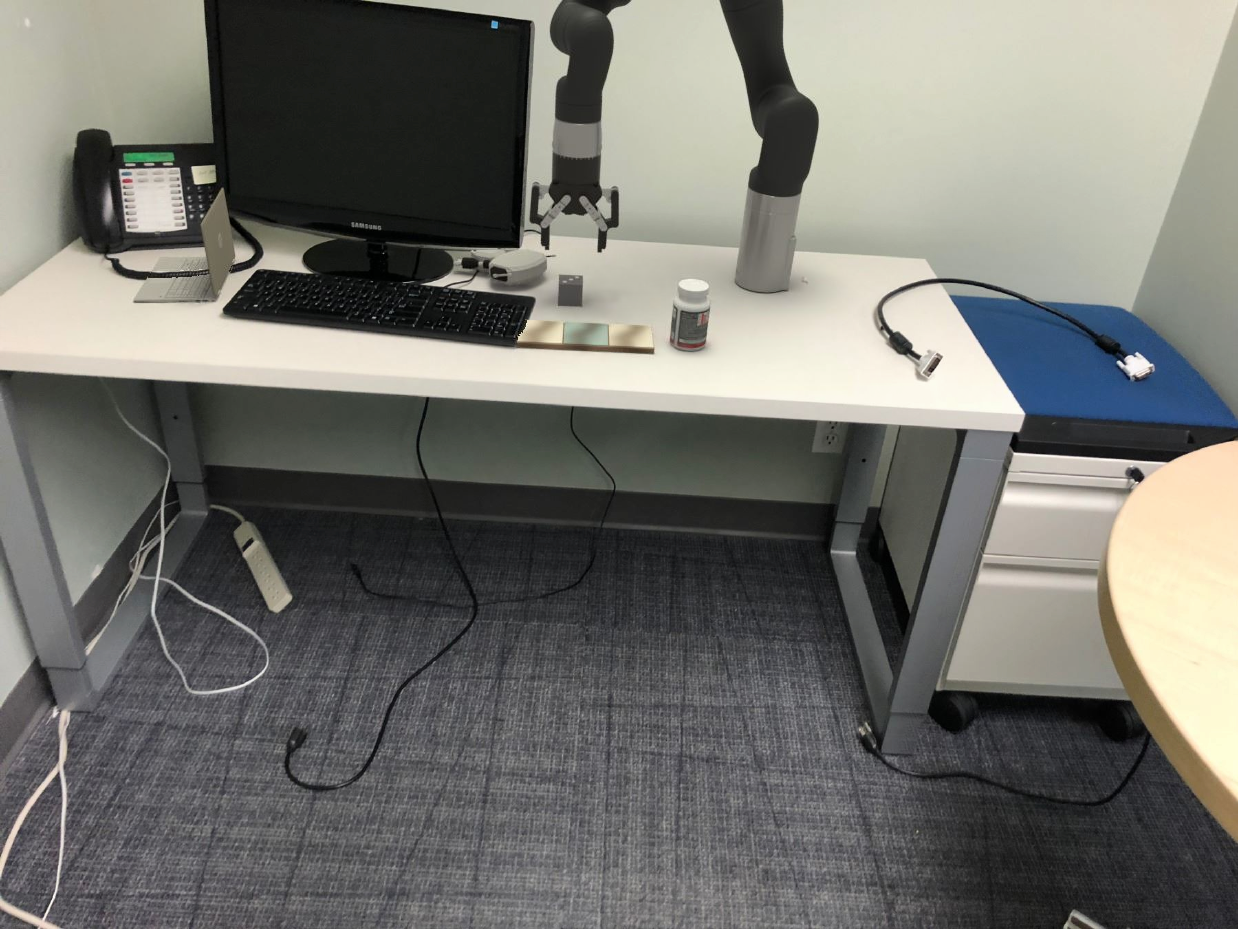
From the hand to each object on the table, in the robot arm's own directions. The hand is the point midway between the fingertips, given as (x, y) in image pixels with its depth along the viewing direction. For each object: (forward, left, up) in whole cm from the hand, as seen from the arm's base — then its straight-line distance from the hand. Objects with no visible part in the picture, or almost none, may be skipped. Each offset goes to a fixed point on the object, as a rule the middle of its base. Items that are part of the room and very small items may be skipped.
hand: (573, 249), depth 153 cm
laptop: (+64, -1, -10) cm, 64 cm away
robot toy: (+12, -10, -10) cm, 18 cm away
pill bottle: (-19, +14, -9) cm, 25 cm away
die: (0, 0, -9) cm, 9 cm away
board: (-3, +14, -9) cm, 17 cm away
